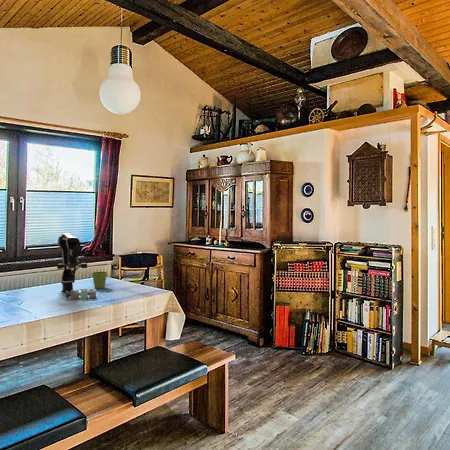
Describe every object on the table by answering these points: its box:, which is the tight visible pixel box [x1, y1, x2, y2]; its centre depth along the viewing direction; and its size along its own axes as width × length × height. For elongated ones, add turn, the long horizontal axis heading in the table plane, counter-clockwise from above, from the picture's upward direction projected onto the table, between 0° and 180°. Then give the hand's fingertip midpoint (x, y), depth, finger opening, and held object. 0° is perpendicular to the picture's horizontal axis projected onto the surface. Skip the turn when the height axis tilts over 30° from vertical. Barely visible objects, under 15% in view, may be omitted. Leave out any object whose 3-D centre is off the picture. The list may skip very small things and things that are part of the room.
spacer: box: [79, 288, 89, 300], centre depth 256 cm, size 4×6×6 cm
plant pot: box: [91, 271, 109, 289], centre depth 289 cm, size 12×12×11 cm
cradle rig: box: [70, 288, 97, 301], centre depth 256 cm, size 16×8×5 cm, turn 111°
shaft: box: [64, 290, 89, 299], centre depth 255 cm, size 16×4×4 cm, turn 111°
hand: (72, 278), depth 262 cm, fingers closed
